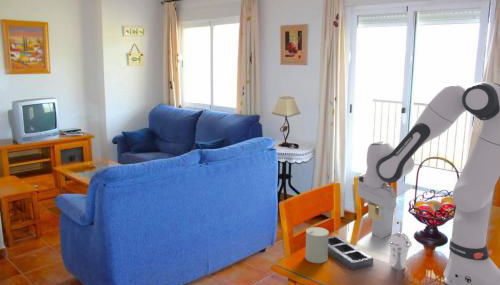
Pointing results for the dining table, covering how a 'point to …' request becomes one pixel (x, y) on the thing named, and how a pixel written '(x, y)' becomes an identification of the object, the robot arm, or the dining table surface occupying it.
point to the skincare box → (383, 224)
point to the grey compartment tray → (348, 253)
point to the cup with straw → (399, 248)
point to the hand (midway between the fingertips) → (375, 212)
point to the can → (316, 245)
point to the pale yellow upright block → (373, 211)
